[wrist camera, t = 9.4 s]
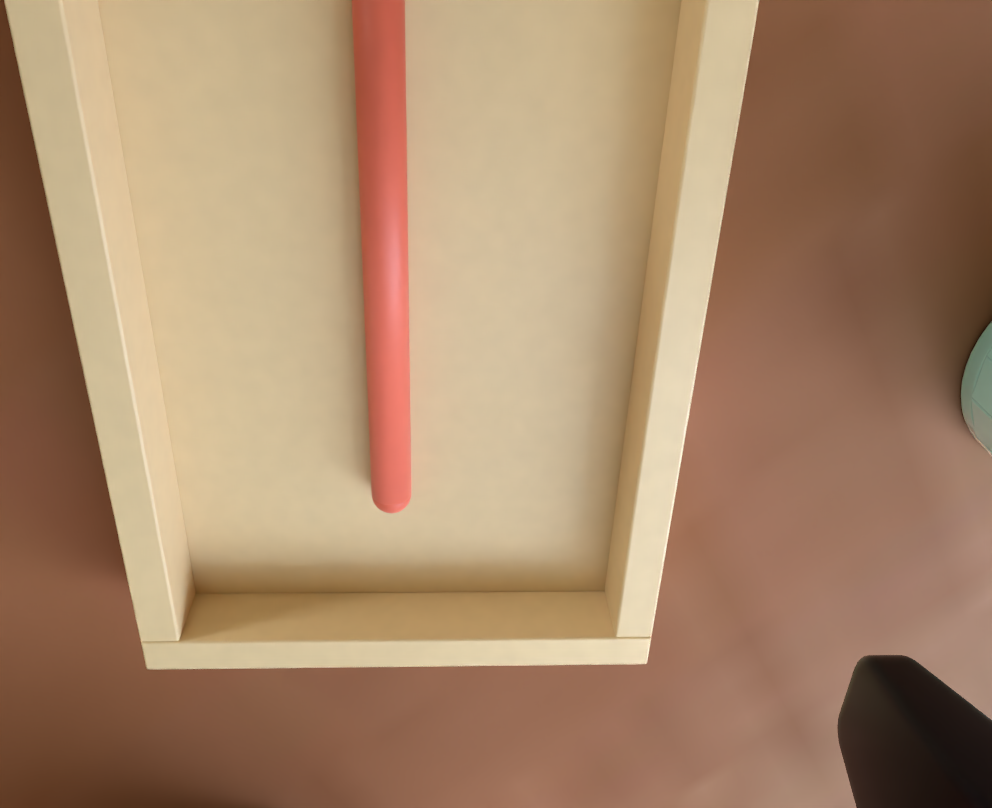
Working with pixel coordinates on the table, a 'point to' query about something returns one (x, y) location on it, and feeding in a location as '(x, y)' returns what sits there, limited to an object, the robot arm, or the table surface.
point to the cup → (979, 390)
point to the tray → (432, 314)
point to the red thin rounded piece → (384, 241)
